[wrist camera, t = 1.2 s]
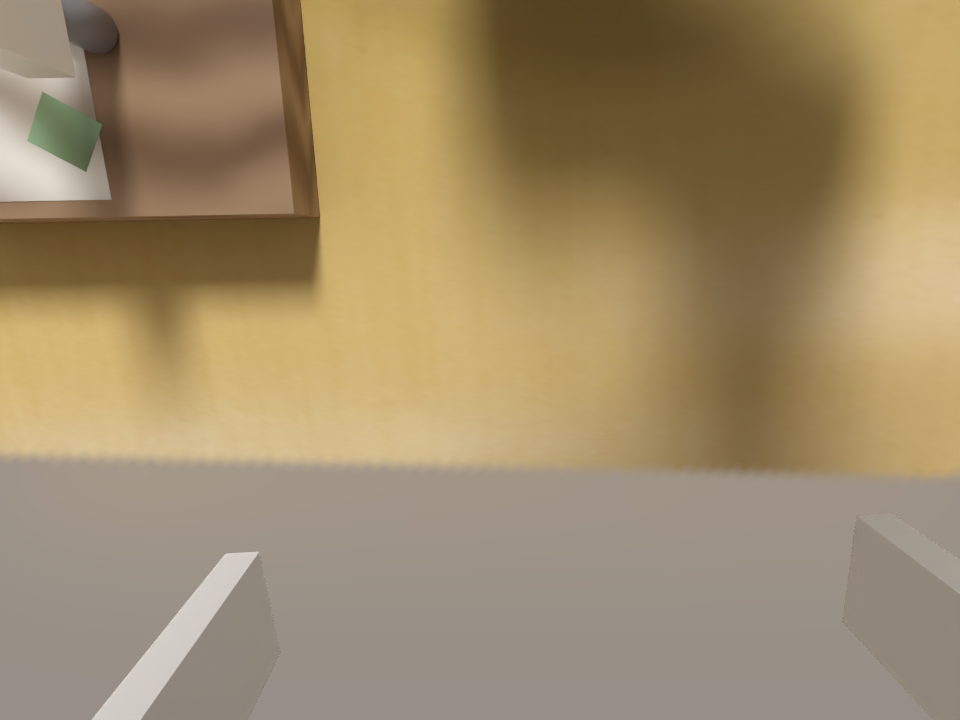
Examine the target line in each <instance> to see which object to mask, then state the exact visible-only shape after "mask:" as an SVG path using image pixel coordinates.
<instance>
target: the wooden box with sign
mask: <svg viewBox="0 0 960 720" xmlns="http://www.w3.org/2000/svg"><path fill="white" fill-rule="evenodd" d="M88 1H90V2H91V3H93V4H95V5H96V6H98V7H100V8H101V9H103V10H104V11H106V12H107V13H108V14H109V15H110V16H111V17H112V19H113V21H114V23H115V25H116V28H117V41H116V44H115V46H114V47H113V49H112V50H111V51H109V52H108V53H106V54H101V55H98V54H93V53H91V52H88V51H86V50H84V49H82V48H80V47H78V46H76V45H74V44H72V43H70V42H69V44H70V49H71V54H72V59H73V65H74V70H75V75H76V78H29V79H28V78H26V77H23V76H20V75H17V74H14V73H12V72H9V71H6V70H3V69H0V223H34V222H87V221H141V220H195V219H249V218H303V217H320V212H319V201H318V190H317V179H316V168H315V157H314V146H313V135H312V124H311V113H310V102H309V91H308V80H307V69H306V58H305V47H304V36H303V25H302V14H301V3H300V0H88Z"/></svg>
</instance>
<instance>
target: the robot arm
mask: <svg viewBox="0 0 960 720" xmlns="http://www.w3.org/2000/svg"><path fill="white" fill-rule="evenodd" d="M843 623H844V624H845V625H846V626H847V627H848V628H849V630H850V631H851V632H852V633H853V634H854V635H855V636H856V637H857V638H858V639H859V640H860V641H861V642H862V643H863V645H864V646H865V647H866V648H867V649H868V650H869V651H870V652H871V653H872V654H873V655H874V657H876V659H877V660H878V661H879V662H880V663H881V664H882V665H883V666H884V667H885V668H886V669H887V671H888V672H889V673H890V674H891V675H892V676H893V677H894V678H895V679H896V680H897V682H898V683H899V684H900V685H901V686H902V687H903V688H904V689H905V690H906V691H907V692H908V693H909V695H910V696H911V697H912V698H913V699H914V700H915V701H916V702H917V703H918V704H919V705H920V706H921V708H923V710H924V711H925V712H926V713H927V714H928V715H929V716H930V717H931V718H932V719H933V720H960V560H959V559H958V558H956V557H955V556H953V555H952V554H951V553H949V552H947V551H946V550H944V549H943V548H942V547H940V546H939V545H937V544H936V543H934V542H933V541H932V540H930V539H929V538H927V537H926V536H924V535H923V534H921V533H920V532H918V531H917V530H916V529H914V528H913V527H911V526H910V525H908V524H907V523H905V522H904V521H902V520H901V519H900V518H898V517H897V516H895V515H894V514H878V515H862V516H856V523H855V531H854V538H853V546H852V554H851V561H850V568H849V576H848V584H847V591H846V599H845V607H844V615H843ZM279 655H280V647H279V642H278V638H277V633H276V628H275V624H274V619H273V614H272V610H271V605H270V600H269V595H268V591H267V586H266V582H265V577H264V572H263V567H262V562H261V558H260V553H259V552H246V553H229V554H225V555H224V556H223V557H222V559H221V560H220V561H219V562H218V564H217V565H216V566H215V568H214V569H213V570H212V571H211V572H210V574H209V575H208V576H207V577H206V579H205V580H204V581H203V582H202V583H201V585H200V586H199V587H198V589H197V590H196V591H195V592H194V593H193V595H192V596H191V597H190V599H189V600H188V601H187V602H186V603H185V605H184V606H183V607H182V608H181V610H180V611H179V612H178V613H177V614H176V616H175V617H174V618H173V619H172V621H171V622H170V623H169V624H168V626H167V627H166V628H165V629H164V631H163V632H162V633H161V634H160V636H159V637H158V638H157V639H156V641H155V642H154V643H153V644H152V645H151V647H150V648H149V649H148V651H147V652H146V653H145V654H144V656H143V657H142V658H141V659H140V660H139V662H138V663H137V664H136V665H135V667H134V668H133V669H132V670H131V672H130V673H129V674H128V675H127V677H126V678H125V679H124V680H123V682H122V683H121V684H120V685H119V686H118V688H117V689H116V690H115V691H114V693H113V694H112V695H111V696H110V698H109V699H108V700H107V701H106V703H105V704H104V705H103V706H102V708H101V709H100V710H99V711H98V712H97V714H96V715H95V716H94V717H93V719H92V720H248V719H249V717H250V715H251V713H252V711H253V709H254V707H255V705H256V703H257V700H258V698H259V696H260V694H261V692H262V690H263V688H264V686H265V684H266V682H267V680H268V678H269V676H270V674H271V672H272V669H273V667H274V665H275V663H276V661H277V659H278V657H279Z"/></svg>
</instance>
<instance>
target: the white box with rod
mask: <svg viewBox="0 0 960 720" xmlns="http://www.w3.org/2000/svg"><path fill="white" fill-rule="evenodd" d="M116 41H117V28H116V25H115V23H114V21H113V19H112V17H111V16H110V15H109V14H108V13H107V12H106V11H104V10H103V9H101V8H100V7H98V6H96V5H95V4H93V3H91V2H90V1H88V0H0V69H3V70H6V71H9V72H12V73H14V74H17V75H20V76H23V77H26V78H28V79H29V78H76V75H75V70H74V65H73V59H72V54H71V49H70V44H69V42H70V43H72V44H74V45H76V46H78V47H80V48H82V49H84V50H86V51H88V52H91V53H93V54H98V55H101V54H106V53H108V52H109V51H111V50H112V49H113V47H114V46H115V44H116Z"/></svg>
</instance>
